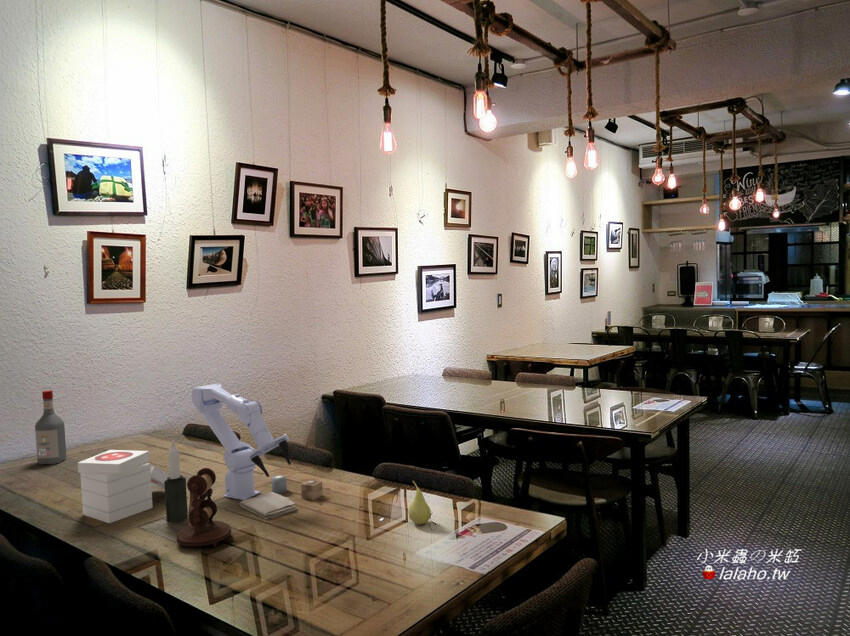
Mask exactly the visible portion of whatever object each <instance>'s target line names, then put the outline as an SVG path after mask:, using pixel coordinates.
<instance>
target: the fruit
mask: <svg viewBox="0 0 850 636" xmlns="http://www.w3.org/2000/svg"><path fill="white" fill-rule="evenodd" d="M412 483H413V484H414V486H415V487H416V491H415V494H414V499H413V501H412V502H411V504H410V505H409V506H408V509H407V514H408V518H409V519H410V521H412V523H415V524H416V525H425V524H426V523H428V522H429V520H430V519H431V516H432V510H431V507H430V506H429V505H428V503H427V501H426V500H425V497H424V494H423V492H422V490H421V489H420V488H419V487H418V486H417V483H416V482H415V480H412Z"/></svg>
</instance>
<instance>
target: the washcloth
mask: <svg viewBox="0 0 850 636" xmlns="http://www.w3.org/2000/svg"><path fill="white" fill-rule="evenodd" d="M239 507H241V508H243V509H245V510H247V511H249V512H250V513H253V514H254V515H257V516H259V517H260V518H262V519H263V520H268V519H274V518H278V517H280V516H283V515H286V514H289V513H293V512H295V511H297V506H296V503H295V502H294V501H292V500H290V498H289V497H285V496H284V495H282V494H276V493H274V492H272V491H270V492H269V491H268V492H265V493H262V494H260V495H258V496H255V497H254V496H252V497H250V498H248V499H246V500H241V501H240V502H239Z"/></svg>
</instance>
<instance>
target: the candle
mask: <svg viewBox="0 0 850 636" xmlns="http://www.w3.org/2000/svg"><path fill="white" fill-rule="evenodd" d="M168 468H169V470H168V471H169V475H170V477H168V478H167V480H165V481H164V485H165V489H164V497H165V499H164V501H165V502H164V503H165V517H166V523H173V524H180V523H182V522H184V521H185V520H188V519H189V517H188V514H189V509H188V495H187V493H188V492H187V479H186V477H184V476H183V475H182V474H181V470H180V452H179V450H178V448H177V447H176V444H175V441H174V440H172V441H171V446H170V449H169V450H168Z"/></svg>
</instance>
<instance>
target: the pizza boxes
mask: <svg viewBox="0 0 850 636" xmlns="http://www.w3.org/2000/svg"><path fill="white" fill-rule="evenodd" d="M150 460H151V459H150V450H130V449H129V450H126V449H124V450H123V449H108V450H106V451H104V452H100V453H98V454H96V455H94V456H92V457H88V458H86V459H83V460H80V461H79V462H77V473H78V474H79V475H80V489H81V504H82V505H81V506H82V515H83V516H85V517H89V518H92V519H95V520H98V521H101V522H105V523H107V524H112V523H114V522H116V521H119V520H123V519H126V518H128V517H130V516H134V515H136V514H139V513H142V512H145V511H147V510H150V509H152V508H154V507H153V491H152V489H153V488H152V486H153V487H156V488H160V489H163V490H165V485H164V481H165V480H167V478H168V477H170V474H168V473H167V472H165V471H164V470H161V469H160V468H158V467H157V466H154V465H151V463H150V462H149V461H150Z"/></svg>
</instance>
